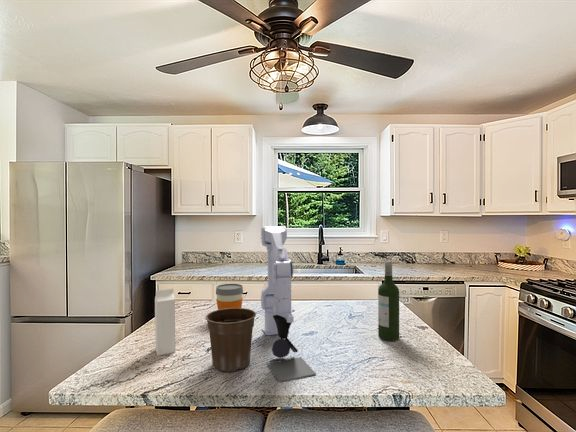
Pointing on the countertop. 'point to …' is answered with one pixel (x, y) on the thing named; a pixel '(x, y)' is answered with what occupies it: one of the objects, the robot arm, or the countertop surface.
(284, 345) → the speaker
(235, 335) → the plant pot
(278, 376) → the mat
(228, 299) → the reusable coffee cup
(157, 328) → the milk
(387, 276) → the wine bottle
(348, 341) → the countertop surface
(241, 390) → the countertop surface
